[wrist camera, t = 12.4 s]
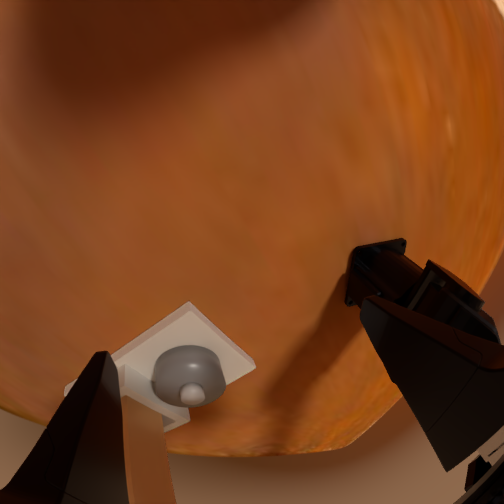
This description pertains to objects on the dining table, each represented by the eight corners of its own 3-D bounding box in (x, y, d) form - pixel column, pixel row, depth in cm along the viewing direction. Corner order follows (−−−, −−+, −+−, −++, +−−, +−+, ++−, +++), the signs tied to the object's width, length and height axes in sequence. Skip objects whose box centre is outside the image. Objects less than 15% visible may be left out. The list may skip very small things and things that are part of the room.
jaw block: (127, 382, 23) (137, 521, 11) (160, 401, 25) (181, 526, 14) (100, 398, 23) (103, 523, 11) (132, 415, 26) (145, 530, 14)
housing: (188, 301, 22) (196, 342, 18) (252, 359, 27) (267, 395, 23) (65, 386, 23) (59, 422, 19) (132, 423, 28) (134, 456, 24)
